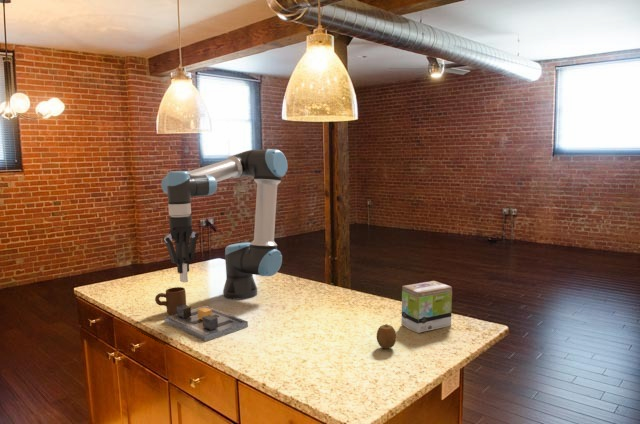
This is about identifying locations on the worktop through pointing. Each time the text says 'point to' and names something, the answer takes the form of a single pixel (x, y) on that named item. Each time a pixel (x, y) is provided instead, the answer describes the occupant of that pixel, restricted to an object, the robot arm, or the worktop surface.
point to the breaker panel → (200, 325)
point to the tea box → (426, 306)
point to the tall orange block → (204, 312)
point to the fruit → (386, 336)
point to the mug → (172, 299)
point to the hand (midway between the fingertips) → (183, 281)
